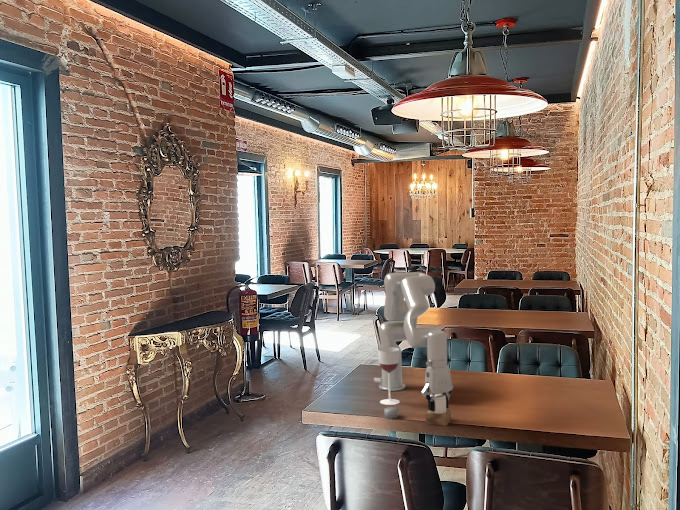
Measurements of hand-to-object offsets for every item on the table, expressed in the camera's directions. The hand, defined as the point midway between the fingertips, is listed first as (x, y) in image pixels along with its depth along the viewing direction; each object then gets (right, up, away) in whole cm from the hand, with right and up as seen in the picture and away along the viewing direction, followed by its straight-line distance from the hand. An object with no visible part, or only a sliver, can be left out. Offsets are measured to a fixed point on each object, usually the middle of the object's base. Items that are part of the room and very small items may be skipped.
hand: (438, 408), depth 222 cm
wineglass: (-16, -5, +28) cm, 33 cm away
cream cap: (0, -1, 0) cm, 1 cm away
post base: (0, -5, 0) cm, 5 cm away
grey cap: (-17, -5, +8) cm, 20 cm away
